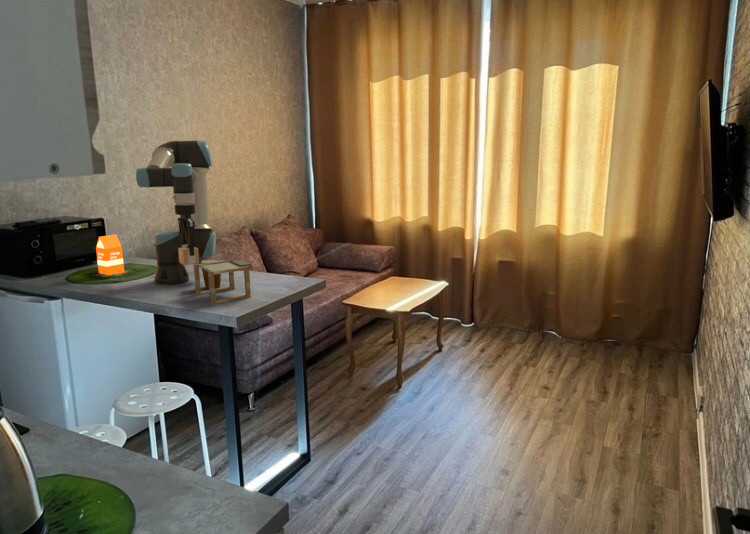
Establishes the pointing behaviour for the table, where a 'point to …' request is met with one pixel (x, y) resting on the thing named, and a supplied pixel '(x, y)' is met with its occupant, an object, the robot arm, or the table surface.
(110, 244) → the orange juice
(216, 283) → the disposable coffee cup
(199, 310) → the table surface
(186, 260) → the block
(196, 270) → the frame
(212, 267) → the trapdoor
